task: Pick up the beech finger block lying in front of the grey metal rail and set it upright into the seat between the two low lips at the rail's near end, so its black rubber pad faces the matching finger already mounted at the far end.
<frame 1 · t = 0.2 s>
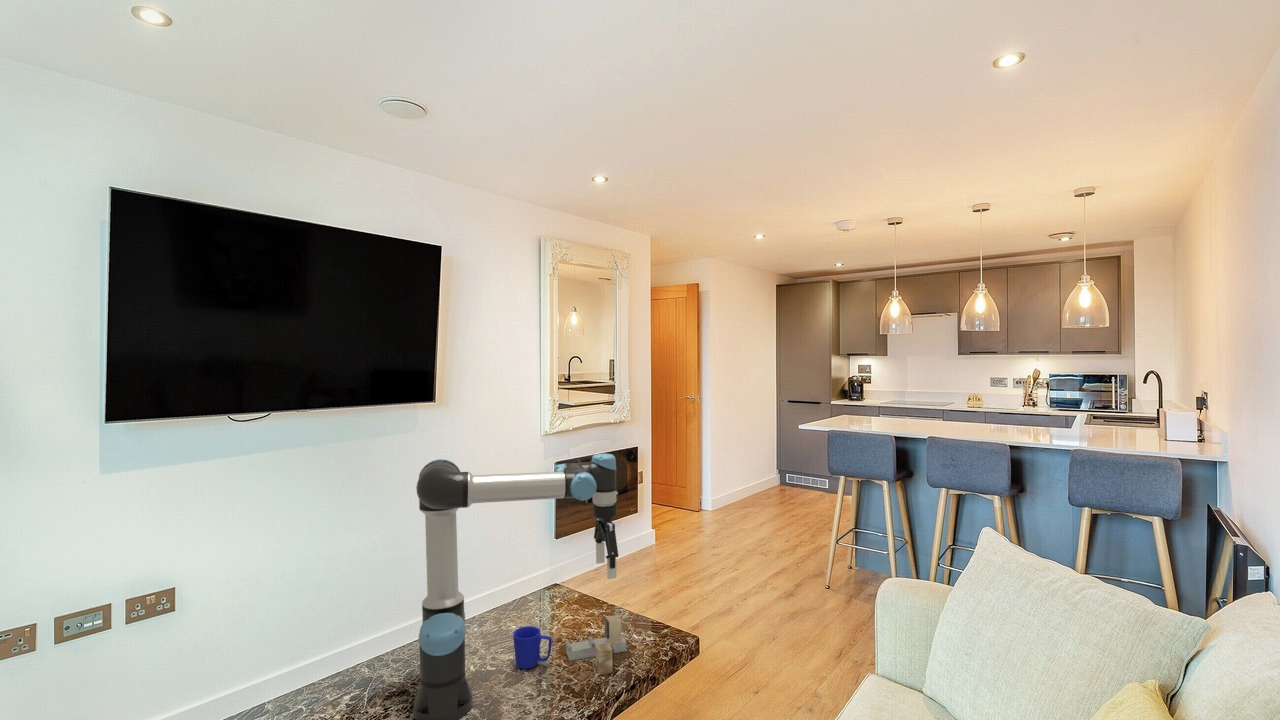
hand: (605, 570, 185), 27 cm above the table, fingers open, 13 cm apart
rail: (596, 652, 187), on the table
mug: (533, 665, 179), on the table
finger: (604, 670, 176), on the table
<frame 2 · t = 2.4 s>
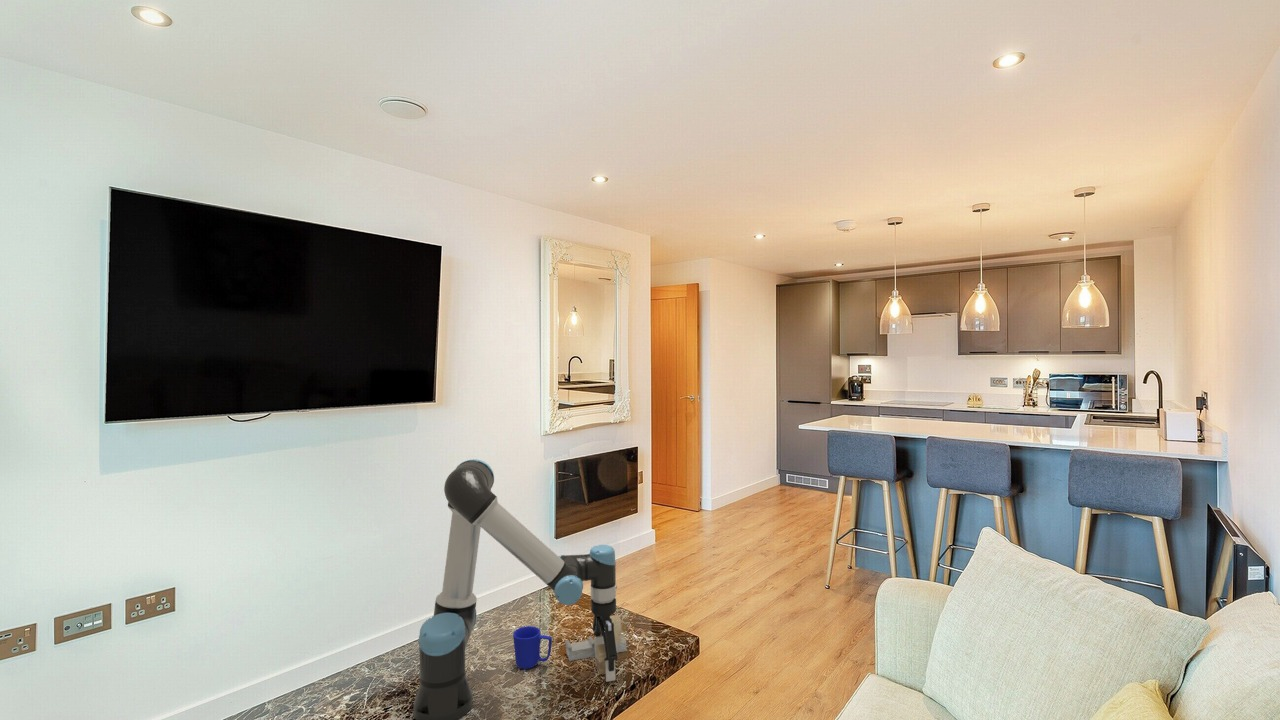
hand: (604, 668, 176), 0 cm above the table, fingers open, 13 cm apart
nothing on the table moved.
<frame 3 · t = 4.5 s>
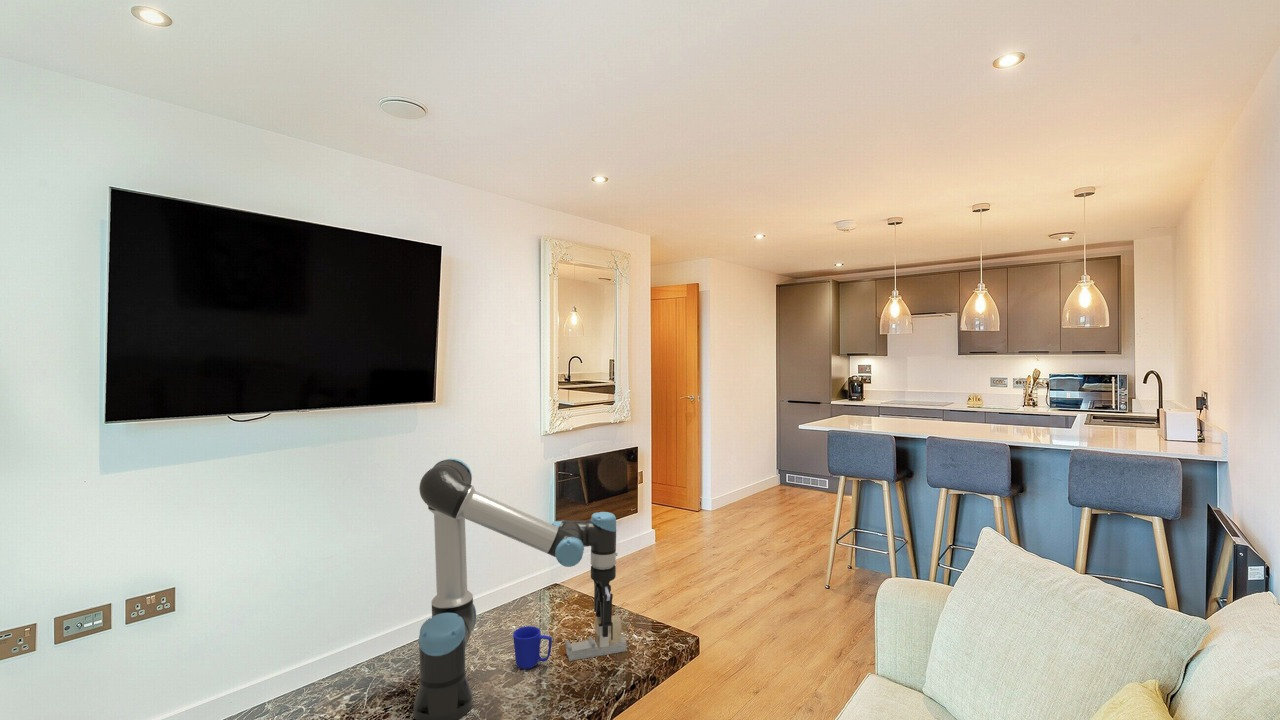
hand: (602, 642, 176), 9 cm above the table, fingers closed on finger, 4 cm apart
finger: (602, 643, 176), point 8 cm above the table, touching gripper
everything else where it was.
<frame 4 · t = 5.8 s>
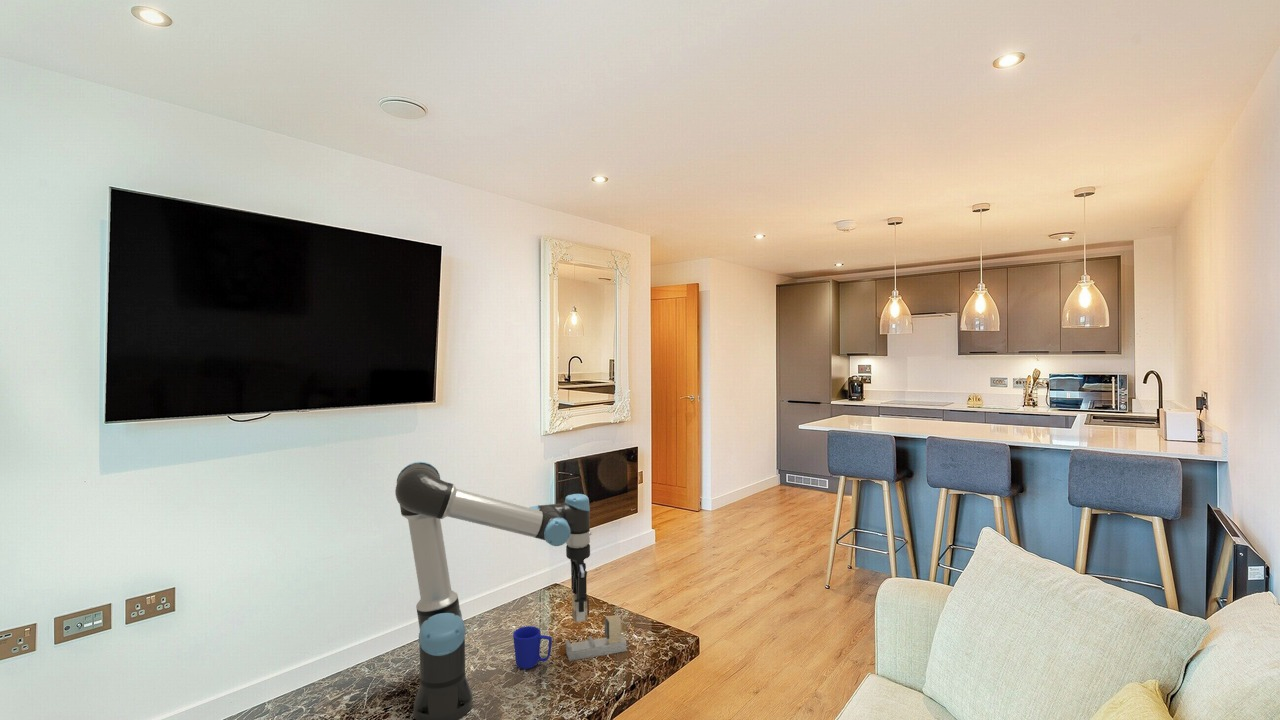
hand: (579, 617, 185), 12 cm above the table, fingers closed on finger, 4 cm apart
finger: (579, 618, 185), point 12 cm above the table, touching gripper
everything else where it was.
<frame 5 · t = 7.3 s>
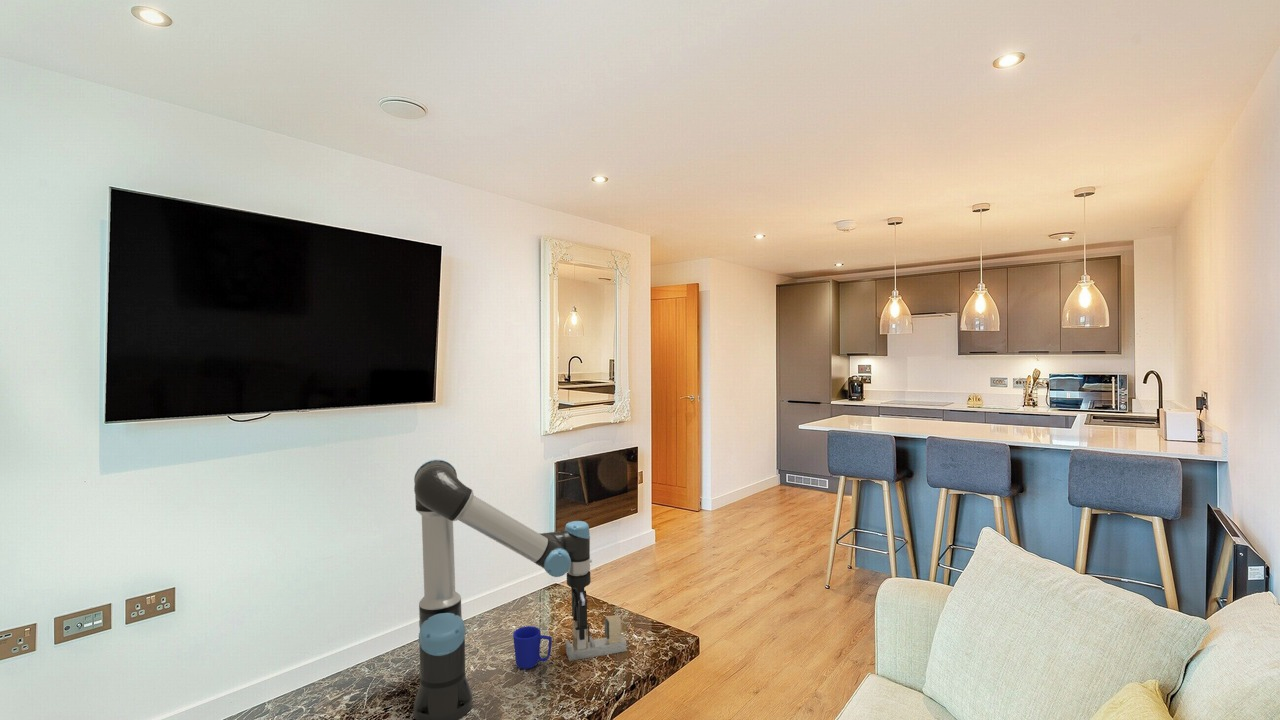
hand: (580, 644, 185), 3 cm above the table, fingers closed on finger, rail, 4 cm apart
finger: (580, 645, 185), point 3 cm above the table, touching gripper, rail
everything else where it was.
when the fingers open (3 cm above the table, at t = 8.8 s): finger stays where it is, resting on rail.
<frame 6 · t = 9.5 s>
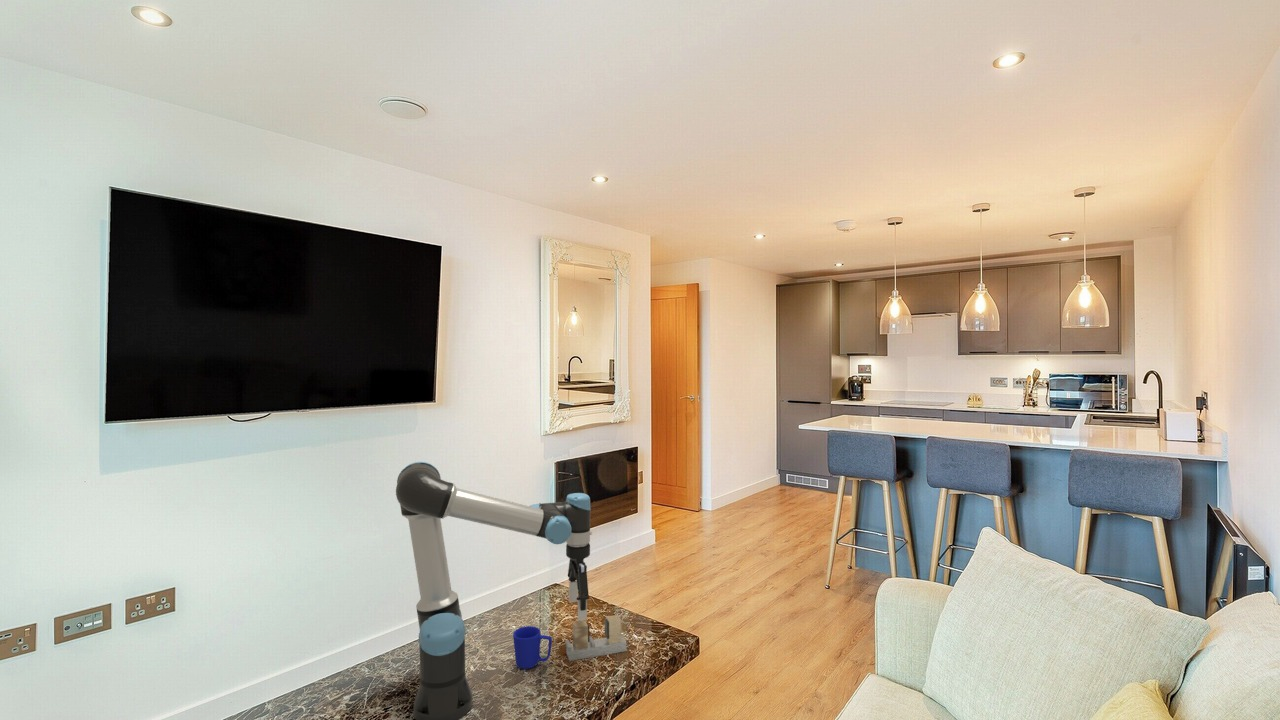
hand: (577, 610, 185), 14 cm above the table, fingers open, 13 cm apart
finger: (580, 645, 185), point 3 cm above the table, touching rail
everything else where it was.
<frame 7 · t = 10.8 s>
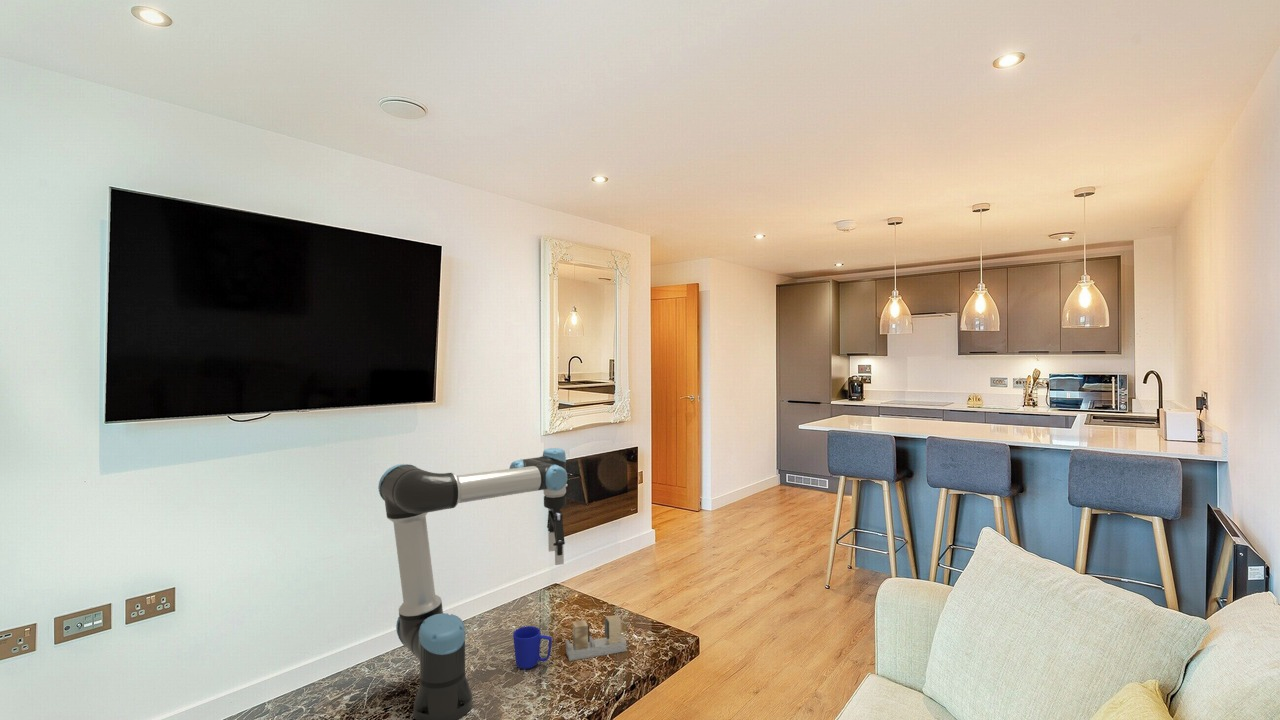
hand: (555, 557, 197), 27 cm above the table, fingers open, 13 cm apart
nothing on the table moved.
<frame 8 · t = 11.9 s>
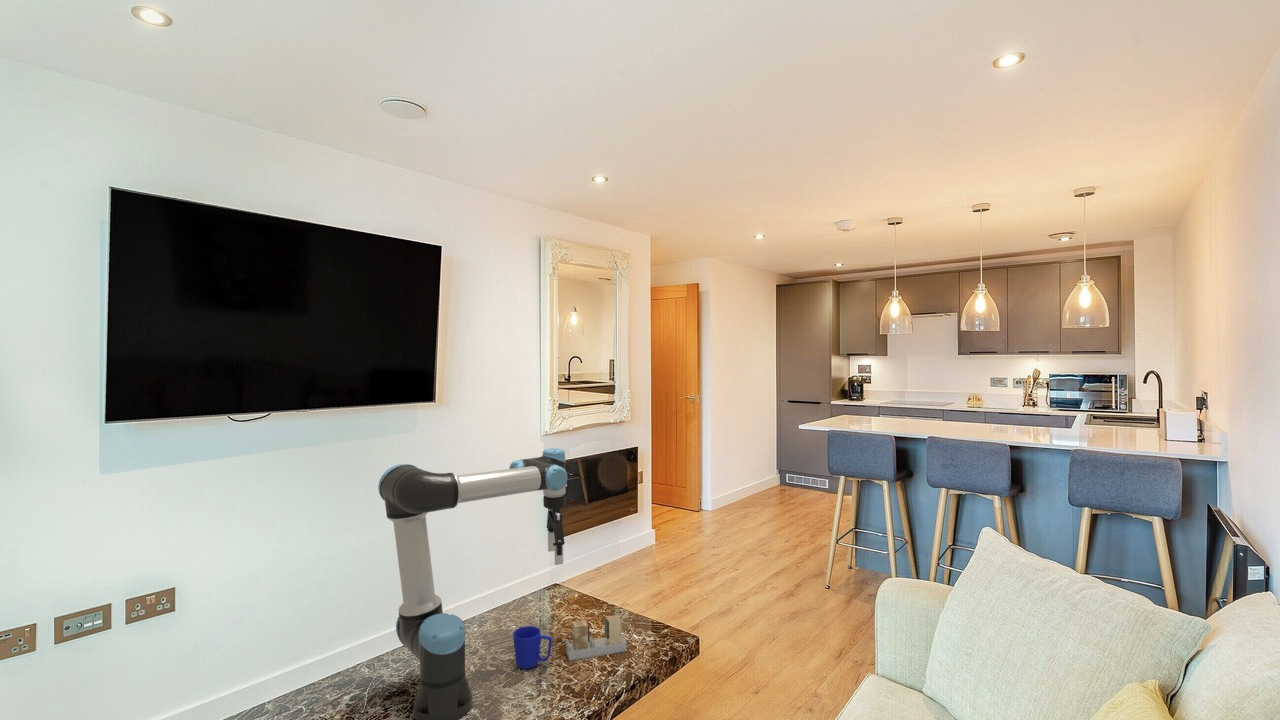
hand: (555, 557, 197), 27 cm above the table, fingers open, 13 cm apart
nothing on the table moved.
at the end: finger 0.3 cm from the target spot on the rail, point 3.0 cm above the rail's base; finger tilted 0°; the gripper is holding nothing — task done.
